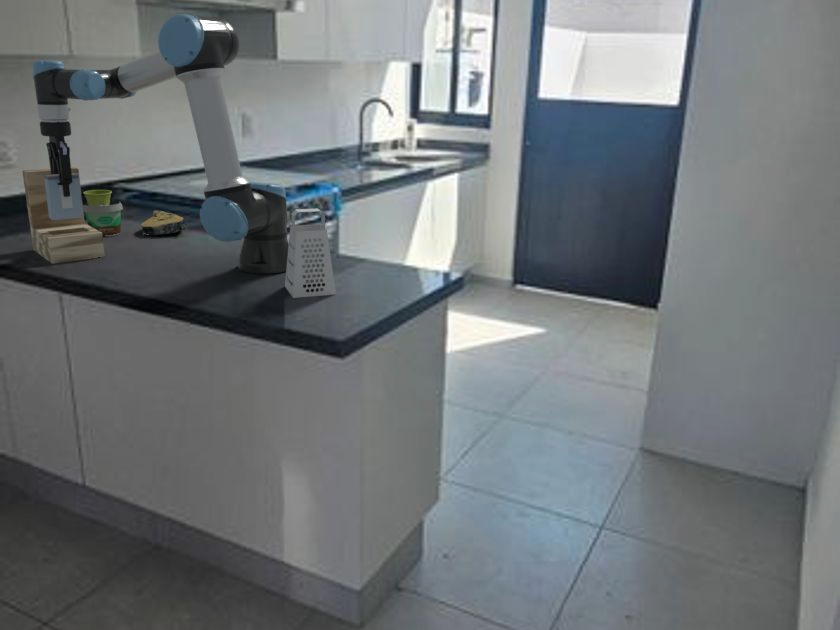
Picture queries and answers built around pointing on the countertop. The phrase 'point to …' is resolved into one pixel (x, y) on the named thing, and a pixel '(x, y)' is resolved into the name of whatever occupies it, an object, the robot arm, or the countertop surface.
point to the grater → (309, 259)
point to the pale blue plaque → (55, 199)
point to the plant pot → (98, 197)
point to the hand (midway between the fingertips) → (64, 206)
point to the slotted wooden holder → (58, 226)
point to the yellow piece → (163, 223)
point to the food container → (104, 218)
